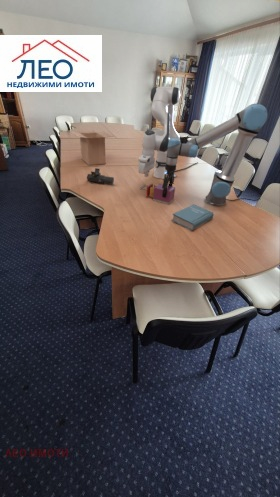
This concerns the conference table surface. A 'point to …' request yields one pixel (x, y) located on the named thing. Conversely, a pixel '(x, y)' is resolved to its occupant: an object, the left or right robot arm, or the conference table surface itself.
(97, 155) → the box
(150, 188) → the drawer
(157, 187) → the cabinet
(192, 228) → the book
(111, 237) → the conference table surface
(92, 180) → the laser sight
